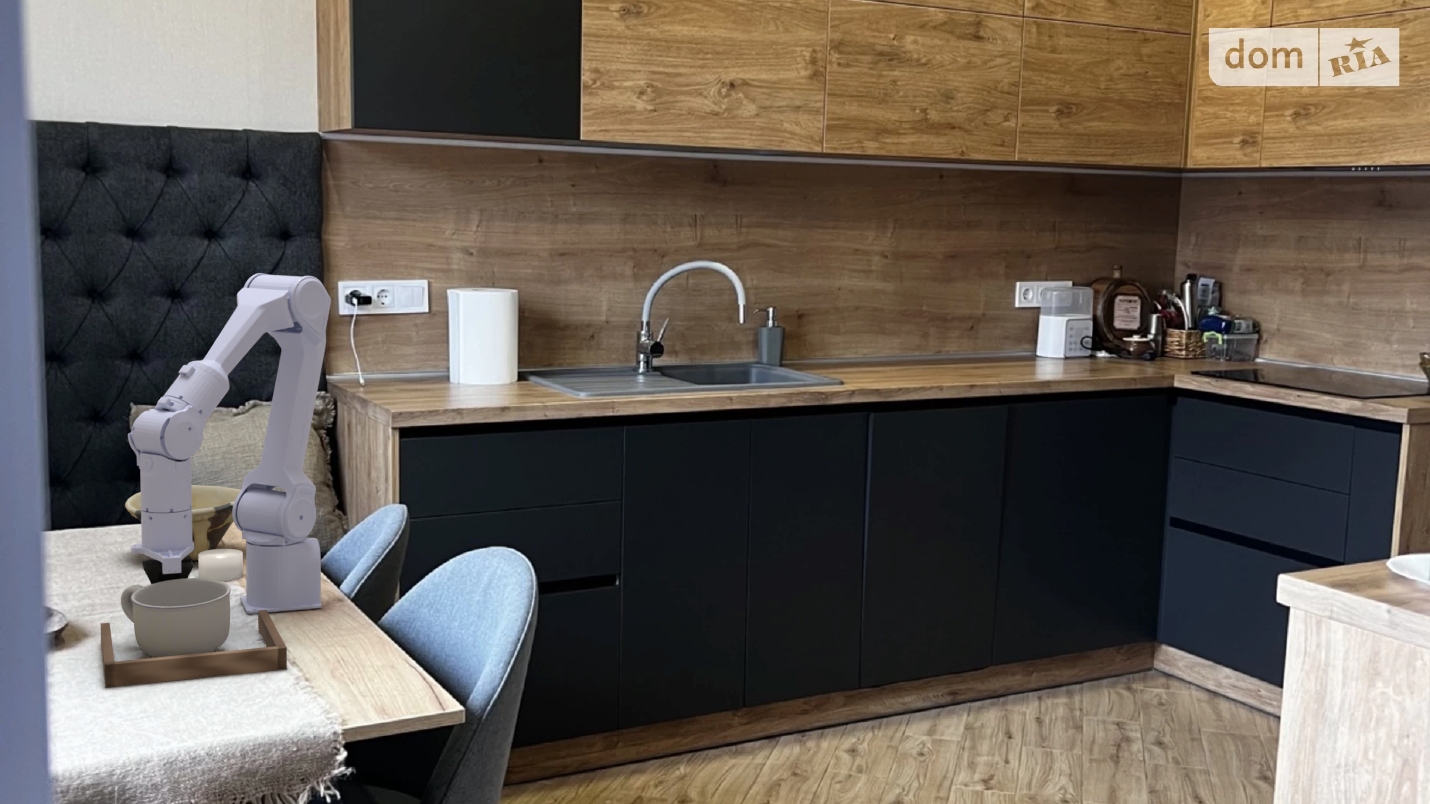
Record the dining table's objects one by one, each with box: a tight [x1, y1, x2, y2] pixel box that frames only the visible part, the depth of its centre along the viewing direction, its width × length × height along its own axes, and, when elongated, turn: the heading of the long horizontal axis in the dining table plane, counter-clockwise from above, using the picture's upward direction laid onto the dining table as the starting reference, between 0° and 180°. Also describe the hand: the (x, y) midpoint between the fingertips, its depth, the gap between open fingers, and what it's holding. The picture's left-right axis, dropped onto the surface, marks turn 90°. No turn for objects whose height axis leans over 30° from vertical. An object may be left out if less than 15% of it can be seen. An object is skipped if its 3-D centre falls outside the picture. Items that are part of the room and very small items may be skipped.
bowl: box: [124, 484, 241, 562], centre depth 206 cm, size 18×18×10 cm
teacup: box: [120, 577, 231, 658], centre depth 159 cm, size 14×11×8 cm
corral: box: [100, 610, 288, 688], centre depth 159 cm, size 19×17×2 cm
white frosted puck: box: [197, 548, 244, 583], centre depth 195 cm, size 6×6×4 cm
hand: (168, 618), depth 166 cm, fingers closed
